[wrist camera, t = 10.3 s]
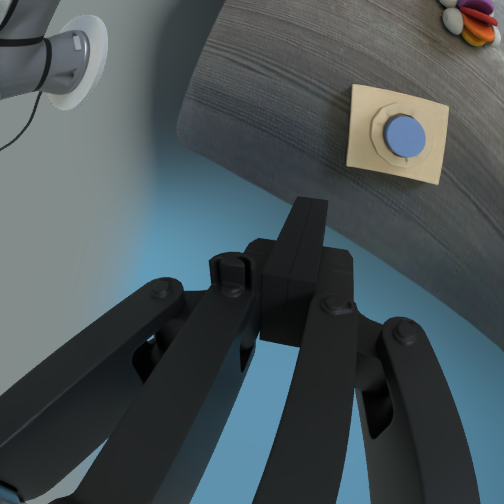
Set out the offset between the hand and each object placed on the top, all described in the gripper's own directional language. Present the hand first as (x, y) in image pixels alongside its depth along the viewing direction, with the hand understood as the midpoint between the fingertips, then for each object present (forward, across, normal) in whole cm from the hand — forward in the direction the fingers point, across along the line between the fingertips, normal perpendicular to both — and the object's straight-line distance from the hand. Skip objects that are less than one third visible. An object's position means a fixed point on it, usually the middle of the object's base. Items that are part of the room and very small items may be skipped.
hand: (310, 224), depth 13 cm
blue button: (+19, +8, +4) cm, 21 cm away
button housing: (+23, +8, +4) cm, 25 cm away
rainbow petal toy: (+23, +19, +24) cm, 38 cm away
